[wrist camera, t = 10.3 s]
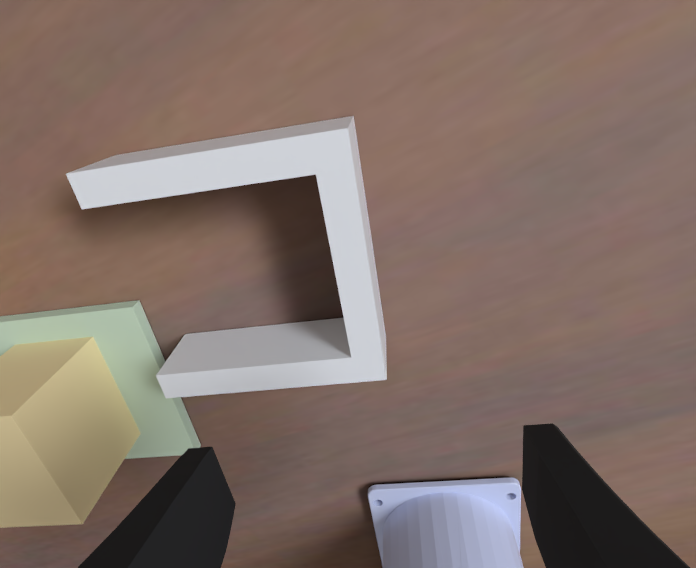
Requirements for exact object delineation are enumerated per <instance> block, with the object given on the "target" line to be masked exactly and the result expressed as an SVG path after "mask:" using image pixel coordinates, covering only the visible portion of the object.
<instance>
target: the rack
mask: <svg viewBox="0 0 696 568" xmlns="http://www.w3.org/2000/svg"><path fill="white" fill-rule="evenodd" d="M66 175H67V177H68V180H69V182H70V184H71V186H72V189H73V191H74V193H75V195H76V198H77V200H78V202H79V204H80V207H81V209H88V208H95V207H101V206H108V205H115V204H122V203H128V202H135V201H142V200H148V199H155V198H162V197H168V196H175V195H182V194H189V193H195V192H202V191H209V190H215V189H222V188H229V187H235V186H242V185H249V184H256V183H262V182H269V181H276V180H282V179H289V178H296V177H302V176H309V175H316V178H317V183H318V188H319V193H320V199H321V204H322V209H323V214H324V219H325V224H326V229H327V235H328V240H329V245H330V250H331V255H332V260H333V266H334V271H335V276H336V281H337V286H338V291H339V296H340V302H341V307H342V312H343V317H344V318H335V319H325V320H316V321H306V322H296V323H287V324H277V325H268V326H258V327H249V328H239V329H230V330H220V331H210V332H201V333H191V334H185V335H184V336H183V338H182V339H181V341H180V342H179V343H178V345H177V346H176V348H175V349H174V351H173V352H172V353H171V355H170V356H169V358H168V359H167V360H166V362H165V363H164V365H163V366H162V367H161V369H160V370H159V372H158V373H157V375H156V377H157V379H158V382H159V384H160V386H161V388H162V391H163V393H164V395H165V397H166V398H177V397H189V396H201V395H213V394H225V393H236V392H248V391H260V390H272V389H284V388H295V387H307V386H319V385H331V384H343V383H354V382H366V381H378V380H387V366H386V333H385V326H384V319H383V313H382V306H381V299H380V292H379V286H378V279H377V272H376V265H375V258H374V252H373V245H372V238H371V231H370V225H369V218H368V211H367V204H366V197H365V191H364V184H363V177H362V170H361V164H360V157H359V150H358V143H357V136H356V130H355V123H354V116H350V117H344V118H338V119H332V120H326V121H320V122H313V123H307V124H301V125H295V126H289V127H283V128H277V129H271V130H265V131H259V132H253V133H247V134H241V135H235V136H229V137H223V138H217V139H211V140H205V141H199V142H193V143H186V144H180V145H174V146H168V147H162V148H156V149H150V150H144V151H138V152H132V153H126V154H120V155H115V156H112V157H109V158H107V159H104V160H101V161H99V162H96V163H93V164H91V165H88V166H85V167H83V168H80V169H77V170H74V171H72V172H69V173H66Z"/></svg>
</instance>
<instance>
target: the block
mask: <svg viewBox="0 0 696 568" xmlns="http://www.w3.org/2000/svg"><path fill="white" fill-rule="evenodd" d="M140 434H141V433H140V431H139V429H138V427H137V425H136V423H135V421H134V419H133V417H132V415H131V412H130V410H129V408H128V406H127V404H126V402H125V400H124V398H123V396H122V394H121V392H120V390H119V388H118V386H117V384H116V382H115V380H114V378H113V376H112V374H111V372H110V370H109V368H108V366H107V364H106V362H105V360H104V358H103V356H102V354H101V352H100V350H99V348H98V346H97V344H96V342H95V340H94V338H93V337H85V338H75V339H65V340H56V341H46V342H36V343H26V344H16V345H14V346H13V347H11V348H10V349H9V350H8V351H6V352H5V353H4V354H3V355H1V356H0V528H3V527H27V526H51V525H75V524H83V523H84V521H85V520H86V518H87V517H88V515H89V514H90V512H91V510H92V509H93V507H94V506H95V504H96V503H97V501H98V499H99V498H100V496H101V495H102V493H103V492H104V490H105V489H106V487H107V485H108V484H109V482H110V481H111V479H112V478H113V476H114V474H115V473H116V471H117V470H118V468H119V467H120V465H121V463H122V462H123V460H124V459H125V457H126V456H127V454H128V452H129V451H130V449H131V448H132V446H133V445H134V443H135V442H136V440H137V438H138V437H139V435H140Z"/></svg>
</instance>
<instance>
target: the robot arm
mask: <svg viewBox="0 0 696 568" xmlns="http://www.w3.org/2000/svg"><path fill="white" fill-rule="evenodd" d="M522 490H523V494H524V498H525V502H526V506H527V510H528V514H529V517H530V521H531V525H532V528H533V532H534V536H535V539H536V542H537V545H538V547H539V550H540V553H541V555H542V558H543V561H544V563H545V566H546V568H690V567H689V566H688V565H687V564H686V563H685V562H683V561H682V560H681V559H680V558H679V557H678V556H677V555H676V554H675V553H674V552H673V551H672V550H671V549H670V548H669V547H668V546H667V545H666V544H665V543H664V542H663V541H662V540H661V539H659V538H658V537H657V536H656V535H655V534H654V533H653V532H652V531H651V530H650V529H649V528H648V527H647V526H646V525H645V524H644V523H643V522H642V521H641V520H640V518H639V517H638V516H637V515H636V514H635V513H634V512H633V511H632V510H631V509H630V508H629V507H628V506H627V505H626V504H625V503H624V502H623V501H622V500H621V499H620V498H619V497H618V496H617V495H616V493H615V492H614V491H613V490H612V489H611V488H610V487H609V486H608V485H607V484H606V483H605V482H604V481H603V479H602V478H601V477H600V476H599V475H598V474H597V473H596V472H595V471H594V469H593V468H592V467H591V466H590V465H589V464H588V463H587V462H586V460H585V459H584V458H583V457H582V456H581V455H580V453H579V452H578V451H577V450H576V449H575V448H574V446H573V445H572V444H571V443H570V442H569V440H568V439H567V438H566V437H565V436H564V434H563V433H562V432H561V431H560V430H559V428H558V427H557V426H555V425H554V424H540V425H525V426H524V428H523V477H522ZM368 500H369V505H370V509H371V514H372V519H373V524H374V528H375V533H376V538H377V543H378V547H379V552H380V557H381V562H382V567H383V568H524V567H523V564H522V560H521V557H520V513H521V487H520V484H519V481H518V480H517V479H515V478H490V479H472V480H453V481H434V482H416V483H397V484H378V485H372V486H371V487H369V489H368ZM234 509H235V501H234V499H233V496H232V494H231V492H230V489H229V487H228V484H227V482H226V479H225V477H224V475H223V472H222V470H221V467H220V465H219V462H218V460H217V457H216V455H215V453H214V450H213V448H212V447H202V448H188V449H187V451H186V452H185V453H184V454H183V455H182V456H181V457H180V458H179V459H178V460H177V461H176V462H175V464H174V465H173V466H172V467H171V468H170V469H169V470H168V471H167V472H166V474H165V475H164V476H163V477H162V478H161V479H160V480H159V481H158V483H157V484H156V485H155V486H154V487H153V488H152V489H151V490H150V491H149V493H148V494H147V495H146V496H145V497H144V498H143V499H142V500H141V501H140V503H139V504H138V505H137V506H136V507H135V508H134V509H133V510H132V511H131V512H130V514H129V515H128V516H127V517H126V518H125V519H124V520H123V521H122V522H121V523H120V524H119V526H118V527H117V528H116V529H115V530H114V531H113V532H112V533H111V534H110V535H109V536H108V537H107V538H106V539H105V540H104V541H103V542H102V543H101V544H100V545H99V546H98V547H97V548H96V549H95V550H94V551H93V553H92V554H91V555H90V556H89V557H88V558H87V559H86V560H85V561H84V562H83V563H82V564H81V565H80V566H79V567H78V568H221V565H222V562H223V558H224V555H225V552H226V548H227V544H228V539H229V535H230V530H231V525H232V520H233V514H234Z"/></svg>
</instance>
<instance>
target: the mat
mask: <svg viewBox="0 0 696 568" xmlns="http://www.w3.org/2000/svg"><path fill="white" fill-rule="evenodd" d="M85 337H93V338H94V340H95V342H96V344H97V346H98V348H99V350H100V352H101V354H102V356H103V358H104V360H105V362H106V364H107V366H108V368H109V370H110V372H111V374H112V376H113V378H114V380H115V382H116V384H117V386H118V388H119V390H120V392H121V394H122V396H123V398H124V400H125V402H126V404H127V406H128V408H129V410H130V412H131V415H132V417H133V419H134V421H135V423H136V425H137V427H138V429H139V431H140V433H141V434H140V435H139V437H138V438H137V440H136V442H135V443H134V445H133V446H132V448H131V449H130V451H129V452H128V454H127V456H126V457H125V459H131V458H146V457H162V456H177V455H183V454H184V453H185V452H186V451H187V449H188V448H200V446H201V444H200V442H199V439H198V437H197V435H196V432H195V430H194V428H193V425H192V423H191V421H190V418H189V416H188V414H187V411H186V409H185V407H184V404H183V402H182V399H181V397H177V398H166V397H165V395H164V393H163V391H162V388H161V386H160V384H159V382H158V379H157V377H156V375H157V373H158V372H159V370H160V369H161V367H162V366H163V365H164V363H165V360H164V357H163V355H162V352H161V350H160V348H159V345H158V343H157V341H156V338H155V336H154V334H153V331H152V329H151V327H150V324H149V322H148V320H147V317H146V315H145V313H144V310H143V308H142V306H141V303H140V301H139V300H137V301H129V302H120V303H112V304H103V305H95V306H86V307H78V308H69V309H60V310H52V311H43V312H35V313H26V314H18V315H9V316H1V317H0V356H1V355H3V354H4V353H5V352H6V351H8V350H9V349H10V348H11V347H13V346H14V345H16V344H26V343H36V342H46V341H56V340H65V339H75V338H85Z"/></svg>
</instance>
